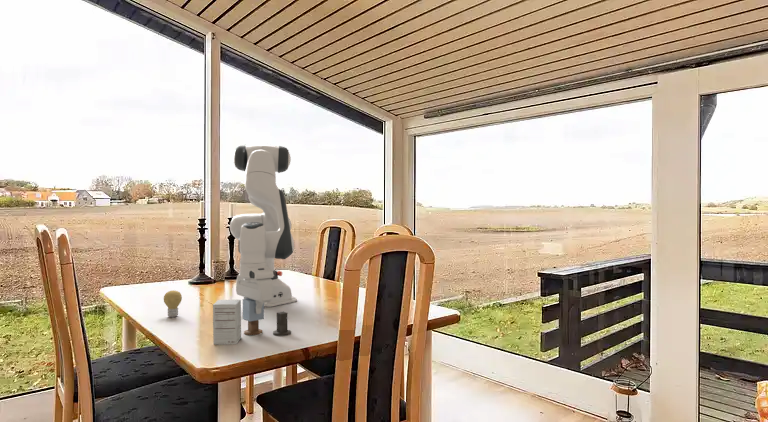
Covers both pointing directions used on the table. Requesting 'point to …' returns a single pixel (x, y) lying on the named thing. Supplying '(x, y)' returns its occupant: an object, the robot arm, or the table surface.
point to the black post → (282, 325)
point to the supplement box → (226, 322)
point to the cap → (251, 310)
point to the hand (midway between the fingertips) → (253, 311)
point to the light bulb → (172, 302)
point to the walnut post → (253, 328)
